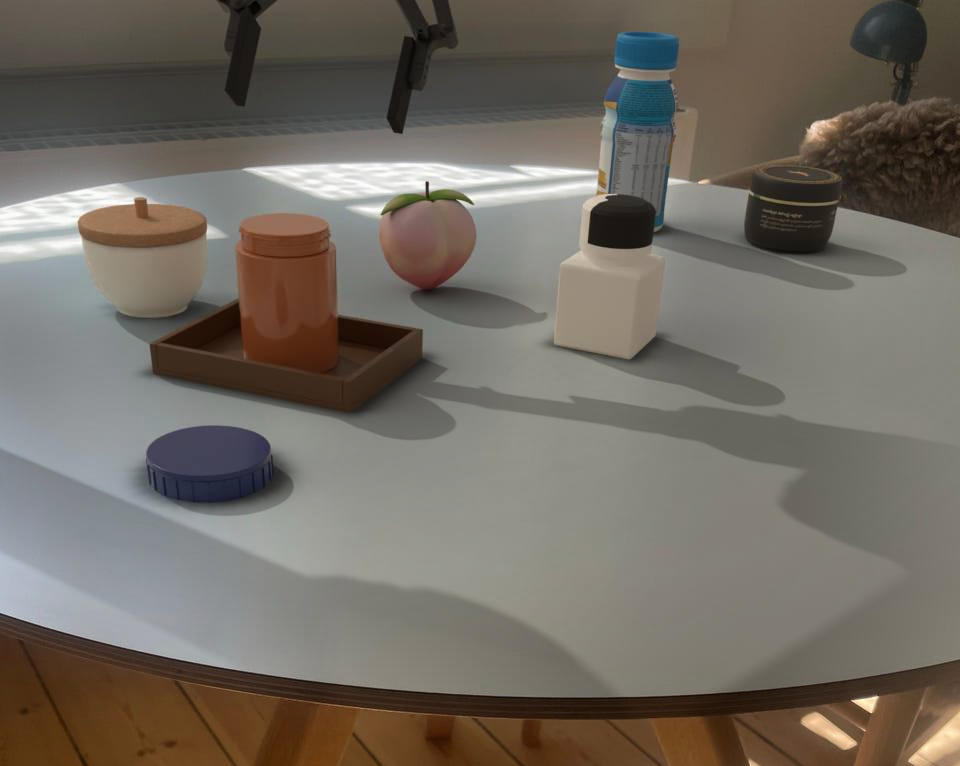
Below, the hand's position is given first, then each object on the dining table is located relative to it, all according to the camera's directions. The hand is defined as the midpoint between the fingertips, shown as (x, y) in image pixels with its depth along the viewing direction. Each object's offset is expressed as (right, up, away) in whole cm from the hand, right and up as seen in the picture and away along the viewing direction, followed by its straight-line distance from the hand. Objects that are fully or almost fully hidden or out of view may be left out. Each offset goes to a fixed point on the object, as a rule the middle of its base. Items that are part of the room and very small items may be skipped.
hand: (313, 112), depth 93 cm
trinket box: (-16, -13, +11) cm, 23 cm away
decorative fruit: (+8, -9, +18) cm, 22 cm away
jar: (+48, +2, +38) cm, 62 cm away
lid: (-4, -30, -18) cm, 36 cm away
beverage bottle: (+31, +6, +42) cm, 52 cm away
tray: (-2, -20, 0) cm, 21 cm away
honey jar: (-2, -20, 0) cm, 20 cm away
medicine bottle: (+24, -17, +8) cm, 31 cm away
